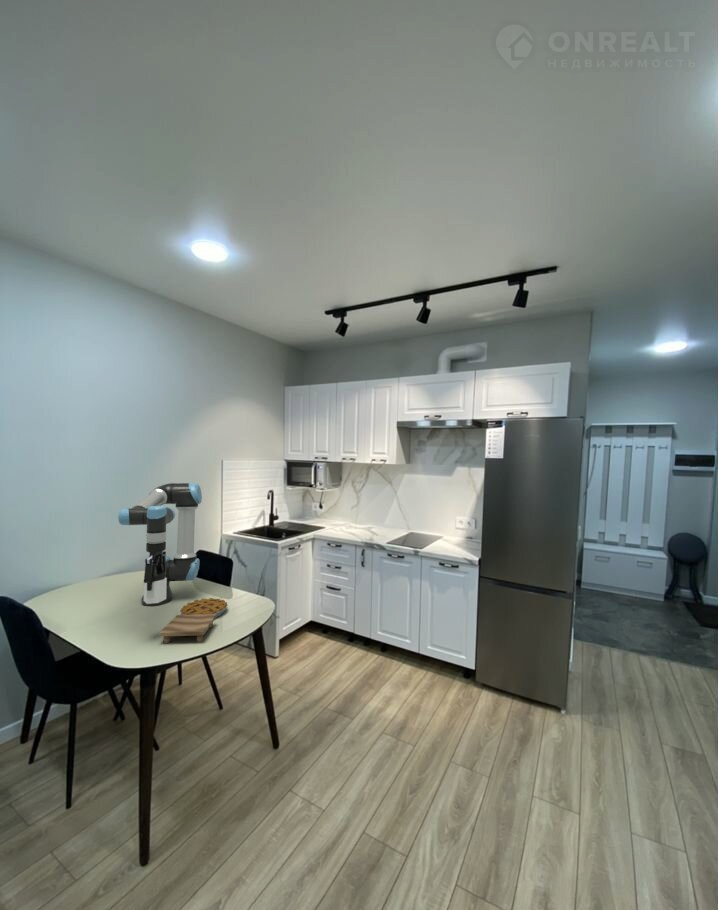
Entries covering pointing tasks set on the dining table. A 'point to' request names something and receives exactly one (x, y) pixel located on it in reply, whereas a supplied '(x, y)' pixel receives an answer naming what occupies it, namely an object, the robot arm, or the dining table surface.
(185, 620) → the wooden serving stand
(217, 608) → the pie
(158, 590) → the jar
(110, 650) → the dining table surface
